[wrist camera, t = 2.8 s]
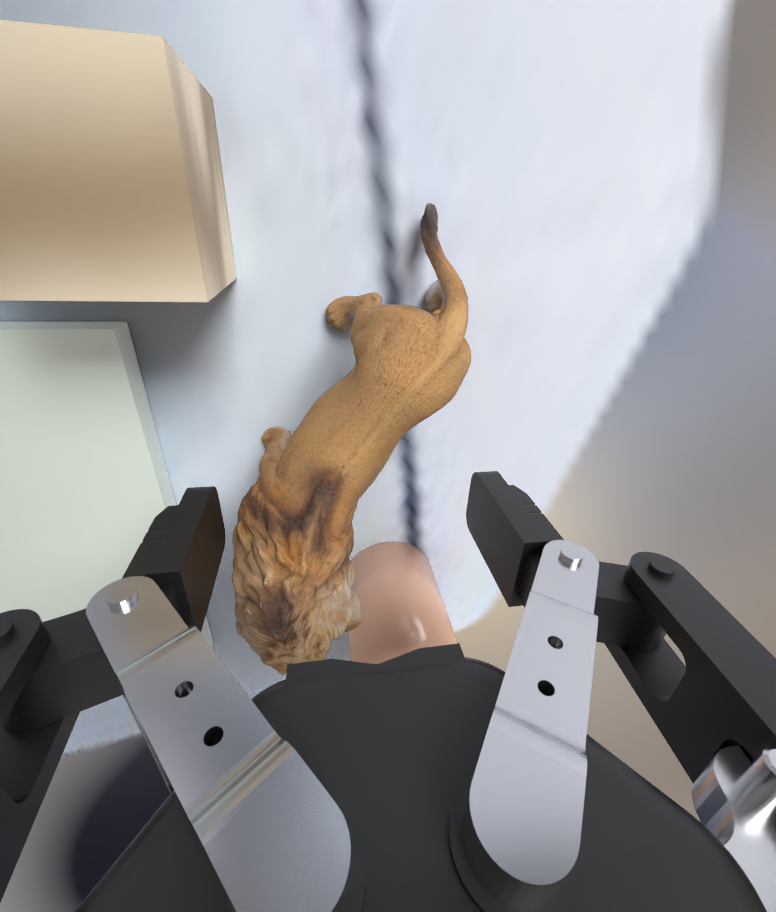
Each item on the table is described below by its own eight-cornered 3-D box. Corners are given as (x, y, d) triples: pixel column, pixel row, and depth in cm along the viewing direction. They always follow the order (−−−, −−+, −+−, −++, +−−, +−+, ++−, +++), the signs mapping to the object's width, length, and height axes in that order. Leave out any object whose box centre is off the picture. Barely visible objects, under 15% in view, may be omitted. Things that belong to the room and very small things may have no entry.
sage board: (-209, 321, 13) (-253, 329, 12) (127, 321, 15) (113, 329, 14) (18, 666, 22) (4, 687, 21) (214, 643, 24) (209, 662, 23)
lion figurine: (338, 530, 21) (354, 707, 14) (233, 503, 19) (182, 690, 12) (485, 238, 16) (656, 257, 8) (354, 161, 14) (411, 89, 6)
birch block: (26, 83, 12) (-138, 5, 7) (213, 98, 12) (162, 36, 8) (84, 275, 14) (-14, 300, 10) (237, 278, 15) (207, 302, 11)
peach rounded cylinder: (342, 545, 22) (352, 646, 17) (434, 538, 23) (470, 632, 17) (344, 610, 24) (353, 716, 19) (426, 601, 25) (457, 700, 20)
